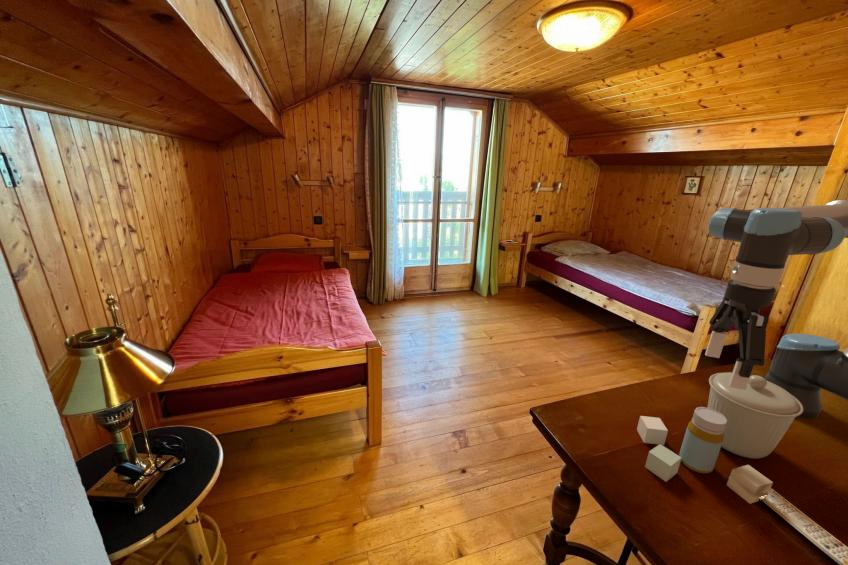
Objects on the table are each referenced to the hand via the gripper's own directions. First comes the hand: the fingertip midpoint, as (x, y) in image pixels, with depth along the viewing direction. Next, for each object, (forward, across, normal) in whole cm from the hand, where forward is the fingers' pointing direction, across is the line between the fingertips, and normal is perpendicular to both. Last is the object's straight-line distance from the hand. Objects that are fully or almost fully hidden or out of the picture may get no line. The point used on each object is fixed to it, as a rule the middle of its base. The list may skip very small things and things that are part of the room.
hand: (723, 370), depth 80 cm
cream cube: (+28, -7, -8) cm, 29 cm away
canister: (+27, -12, +13) cm, 33 cm away
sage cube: (+28, +5, -8) cm, 29 cm away
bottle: (+28, 0, 0) cm, 28 cm away
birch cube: (+27, +5, +9) cm, 29 cm away
